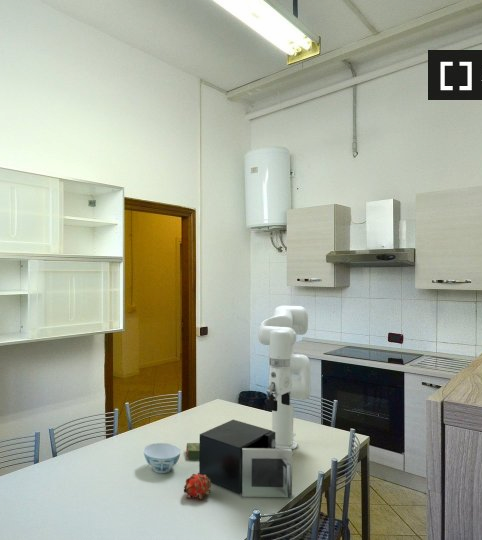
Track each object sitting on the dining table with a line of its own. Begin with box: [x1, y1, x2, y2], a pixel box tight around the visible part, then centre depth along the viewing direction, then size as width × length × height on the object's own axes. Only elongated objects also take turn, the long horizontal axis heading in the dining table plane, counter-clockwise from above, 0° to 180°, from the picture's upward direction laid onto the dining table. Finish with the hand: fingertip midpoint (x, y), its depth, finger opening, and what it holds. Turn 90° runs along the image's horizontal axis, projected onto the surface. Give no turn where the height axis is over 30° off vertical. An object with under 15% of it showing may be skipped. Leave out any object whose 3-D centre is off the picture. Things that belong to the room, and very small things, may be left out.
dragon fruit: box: [183, 472, 212, 500], centre depth 153 cm, size 8×8×12 cm
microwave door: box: [241, 448, 293, 499], centre depth 151 cm, size 7×18×17 cm, turn 90°
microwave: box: [198, 419, 276, 496], centre depth 168 cm, size 20×24×17 cm
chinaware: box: [143, 442, 182, 474], centre depth 174 cm, size 15×15×8 cm
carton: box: [185, 442, 200, 461], centre depth 187 cm, size 8×16×4 cm, turn 89°
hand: (279, 407), depth 163 cm, fingers open, 9 cm apart
